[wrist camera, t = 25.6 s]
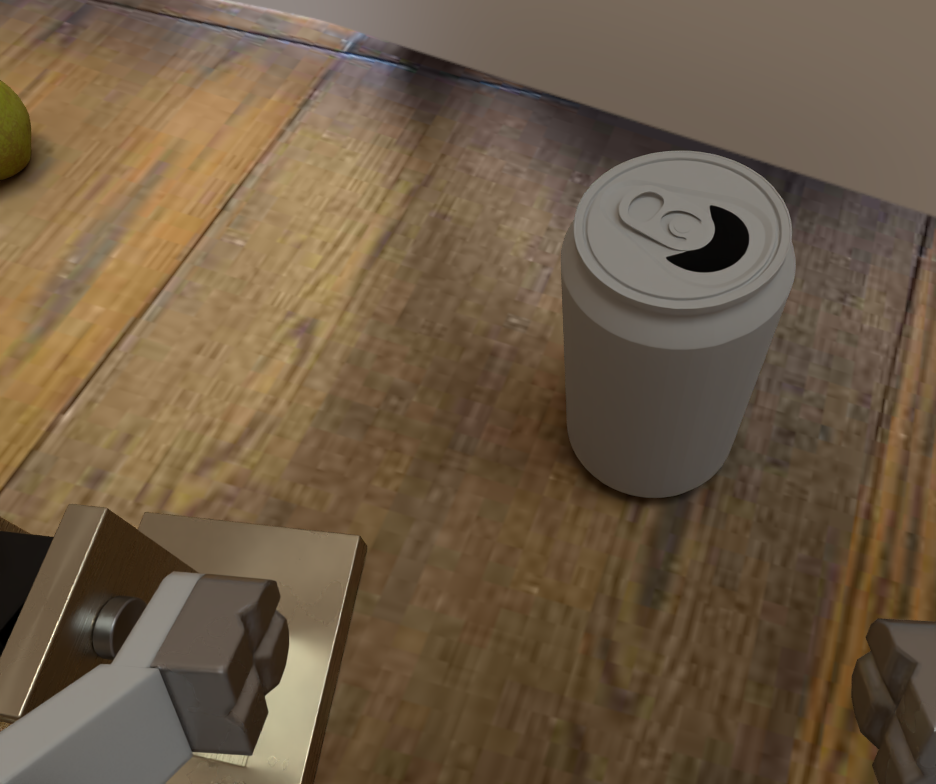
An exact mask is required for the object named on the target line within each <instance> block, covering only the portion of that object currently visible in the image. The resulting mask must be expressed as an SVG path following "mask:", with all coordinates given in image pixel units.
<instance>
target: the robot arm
mask: <svg viewBox="0 0 936 784" xmlns="http://www.w3.org/2000/svg"><path fill="white" fill-rule="evenodd" d="M280 598H281V595H280V592H279V589H278V585H277V582H276V581H274V580H270V579H259V578H248V577H238V576H227V575H216V574H201V573H189V572H177V571H173V572H172V573H170V574H169V575H168V576H166V577H165V578H164V579H163V580H162V582H161V583H160V585H159V587H158V588H157V590H156V592H155V593H154V595H153V596H152V598H151V600H150V601H149V603H148V605H147V606H146V608H145V609H144V611H143V613H142V614H141V616H140V618H139V619H138V621H137V622H136V624H135V626H134V627H133V629H132V631H131V632H130V634H129V635H128V637H127V639H126V640H125V642H124V644H123V645H122V647H121V648H120V650H119V652H118V653H117V655H116V657H115V658H114V660H113V662H112V663H111V664H100V665H98V666H97V667H95V668H94V669H92V670H91V671H89V672H88V673H87V674H85V675H84V676H82V677H81V678H79V679H78V680H76V681H75V682H73V683H72V684H70V685H69V686H67V687H66V688H64V689H63V690H61V691H60V692H59V693H57V694H56V695H54V696H53V697H51V698H50V699H48V700H47V701H45V702H44V703H42V704H41V705H39V706H38V707H36V708H35V709H33V710H32V711H31V712H29V713H28V714H26V715H25V716H23V717H22V718H20V719H19V720H17V721H16V722H14V723H13V724H11V725H10V726H8V727H7V728H5V729H4V730H3V731H1V732H0V784H165V783H166V782H167V781H168V780H169V779H170V778H171V777H172V776H173V775H174V774H175V773H176V772H177V771H178V770H179V769H180V768H181V767H182V766H183V765H184V764H185V763H186V762H187V761H189V760H190V759H191V758H192V757H193V753H192V752H201V753H216V754H231V755H246V756H252V755H253V752H254V749H255V747H256V744H257V742H258V739H259V736H260V734H261V731H262V729H263V726H264V723H265V721H266V718H267V716H268V713H269V711H268V707H267V704H266V700H265V697H264V696H266V695H267V694H268V693H269V692H270V691H272V690H273V689H274V688H275V687H277V686H278V685H279V684H280V681H281V678H282V675H283V673H284V670H285V667H286V662H287V657H288V651H289V628H288V624H287V619H286V618H285V617H284V616H283V615H282V614H281V613H280V612H279V611H277V610H276V608H277V606H278V603H279V601H280ZM866 640H867V642H868V645H869V647H870V650H871V651H870V652H869V653H867V654H865V655H864V656H862V657H861V658H859V659H857V662H856V665H855V668H854V671H853V674H852V691H851V698H852V703H853V708H854V714H855V717H856V720H857V723H858V726H859V729H860V732H861V733H862V734H863V735H864V736H865V737H866V738H867V739H868V740H869V741H870V742H871V743H872V744H874V745H875V746H876V747H877V748H878V749H879V750H878V752H877V755H876V757H875V759H874V762H873V764H872V767H873V769H874V772H875V775H876V778H877V781H878V783H879V784H936V622H933V621H914V620H896V619H877V620H875V621H874V622H873V623H872V624H871V625H870V628H869V630H868V633H867V635H866Z"/></svg>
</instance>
